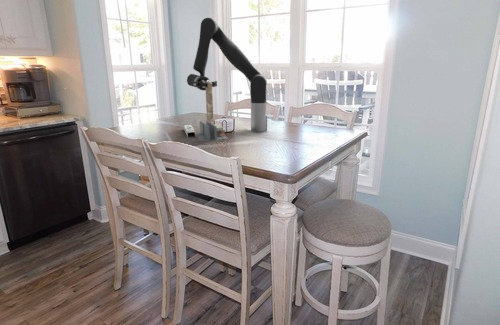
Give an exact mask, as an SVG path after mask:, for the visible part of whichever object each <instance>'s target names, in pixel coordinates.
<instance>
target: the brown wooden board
mask: <svg viewBox="0 0 500 325" xmlns="http://www.w3.org/2000/svg"><path fill="white" fill-rule="evenodd" d="M212 82H213V81H211V82H206V83H208V87H206V90H205V105H206V106H205V108H206V120H208V121H209V122H211V123H212V122H214V102H213V101H214V100H213V87H212Z"/></svg>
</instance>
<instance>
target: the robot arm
mask: <svg viewBox="0 0 500 325" xmlns="http://www.w3.org/2000/svg"><path fill="white" fill-rule="evenodd" d="M211 40H212V41H213V42H214V43H215V44H216V45H217V46H218V48H219V49H220V51H221V53H222V54H223V55H224V57H225V58H226V60H227V61H229V63H230V64H231V65H232V66H233V68H235V69H237V70H238V71H239V72H240V73H242V74H243V76H245V78H246V79H247V80H248V81H249V82H250V87H249V88H250V89H249V90H250V130H251V132H256V133H261V132H263V133H264V132H266V131H268V115H267V83H268V82H267V78H266V77H265V76H264V75H263V74H262V73H261V72H260V71H259V70H258V69H257V68H255V67H254V65H253V64H252V62H251V61H250V60H249V58H248V57H247V55H246V54H244V52H243V51H242V50H241V49H240V47H239V46H238V45H237V44H235V43H234V41H232V40H231V39H230V37H228V36H227V35H226V33H225V32H224V31H223V30H222V28H221V26H220V25H219V24H218V22H217V21H216V20H214V19H213V18H212V17H205V18H203V19H202V20H201V23H200V30H199V40H198V45H197V50H196V56H195V59H194V61H193V62H194V63H193V66H192V68H193V70H194V71H196V72H198V73H199V75H197V74H194V73H190V74H188V75H187V77H186V78H187V79H186V83H187V85H188V86H190V87H194V88H197V89H198V90H201V91H206V87H208V83H206V82H212V88H214V87H218V81H217V80H215V81H211V80H210V78H209V77H207V76H206V75H205V74H206V68H207V63H208V59H209V52H210V50H209V49H210V44H211Z"/></svg>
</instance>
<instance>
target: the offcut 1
mask: <svg viewBox="0 0 500 325" xmlns="http://www.w3.org/2000/svg"><path fill="white" fill-rule="evenodd" d="M214 125H215V126H216V129H217V131H220V130H224V127H223V126H222V125H220V123H219V124H214Z"/></svg>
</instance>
